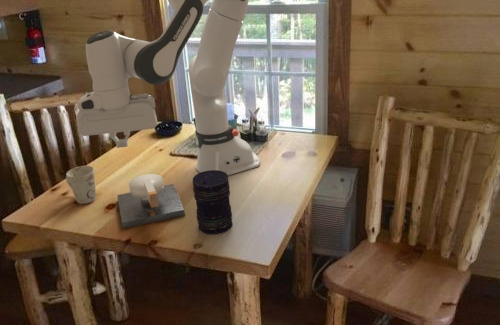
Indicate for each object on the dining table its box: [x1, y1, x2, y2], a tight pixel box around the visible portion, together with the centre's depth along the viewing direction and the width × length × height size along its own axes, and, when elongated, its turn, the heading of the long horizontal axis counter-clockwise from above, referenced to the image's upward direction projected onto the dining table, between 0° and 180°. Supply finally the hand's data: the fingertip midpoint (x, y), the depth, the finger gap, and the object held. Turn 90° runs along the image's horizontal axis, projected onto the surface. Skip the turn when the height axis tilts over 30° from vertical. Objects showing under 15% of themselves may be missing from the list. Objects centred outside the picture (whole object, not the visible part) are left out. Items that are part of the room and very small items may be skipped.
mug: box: [65, 165, 97, 205], centre depth 159 cm, size 8×13×10 cm, turn 58°
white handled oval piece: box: [128, 173, 165, 208], centre depth 145 cm, size 18×10×5 cm, turn 21°
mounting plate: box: [116, 183, 186, 229], centre depth 151 cm, size 18×18×6 cm
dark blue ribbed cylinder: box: [192, 170, 233, 236], centre depth 138 cm, size 10×10×15 cm
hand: (122, 146), depth 134 cm, fingers closed
